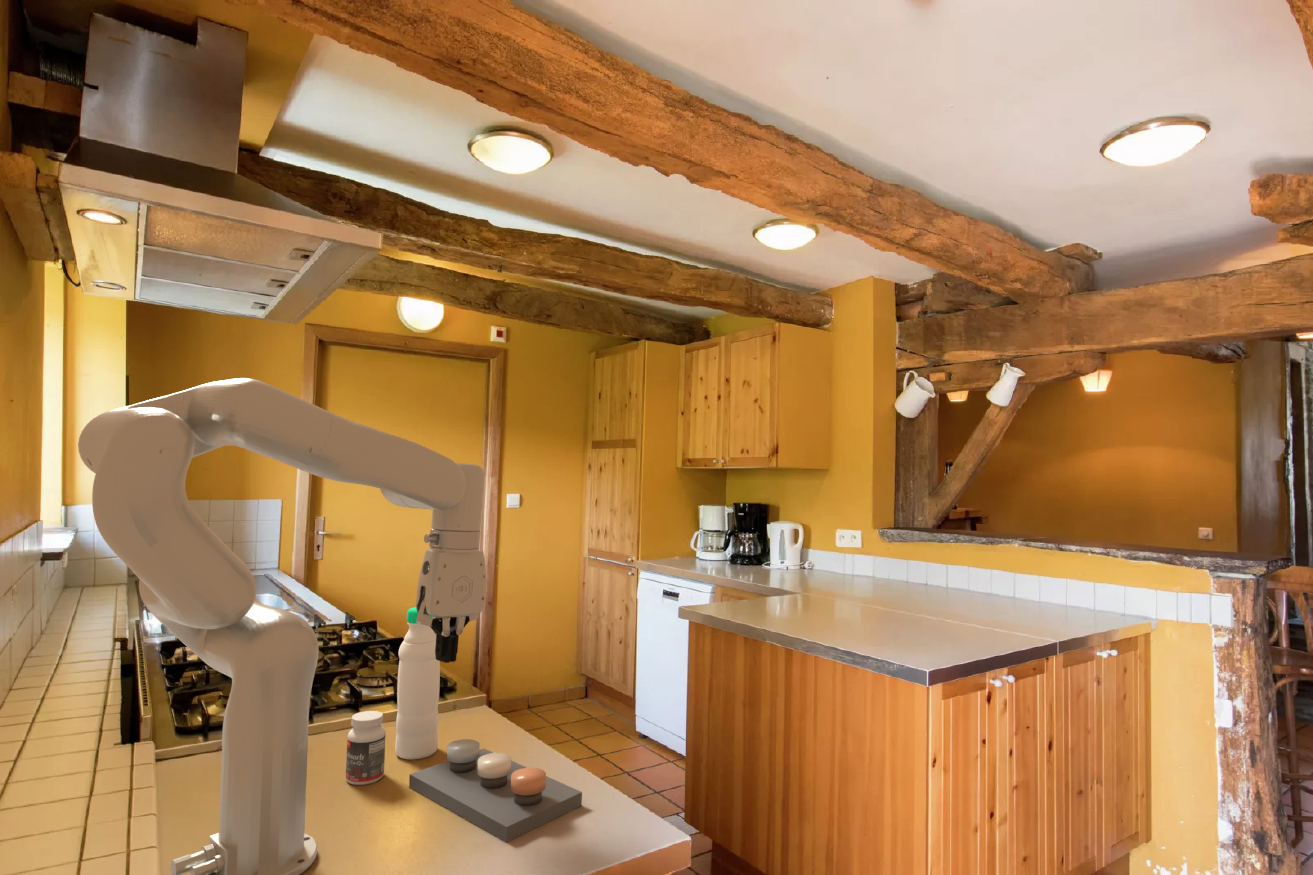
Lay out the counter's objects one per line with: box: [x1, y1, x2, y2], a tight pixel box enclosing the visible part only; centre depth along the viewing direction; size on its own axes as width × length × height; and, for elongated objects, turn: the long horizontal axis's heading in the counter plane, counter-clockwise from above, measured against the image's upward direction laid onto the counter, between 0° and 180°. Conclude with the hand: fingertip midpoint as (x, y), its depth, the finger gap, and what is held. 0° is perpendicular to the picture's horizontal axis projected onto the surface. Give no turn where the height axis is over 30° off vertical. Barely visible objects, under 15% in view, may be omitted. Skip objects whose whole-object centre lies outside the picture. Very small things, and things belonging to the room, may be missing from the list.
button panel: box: [408, 747, 583, 843], centre depth 110 cm, size 14×24×3 cm, turn 50°
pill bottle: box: [345, 710, 386, 786], centre depth 115 cm, size 6×6×10 cm
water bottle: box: [394, 606, 441, 761], centre depth 126 cm, size 7×7×25 cm
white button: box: [477, 752, 512, 779], centre depth 110 cm, size 5×5×2 cm
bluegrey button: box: [446, 738, 481, 763], centre depth 115 cm, size 5×5×2 cm
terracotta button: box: [511, 767, 547, 795], centre depth 105 cm, size 5×5×2 cm
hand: (445, 660), depth 111 cm, fingers closed
